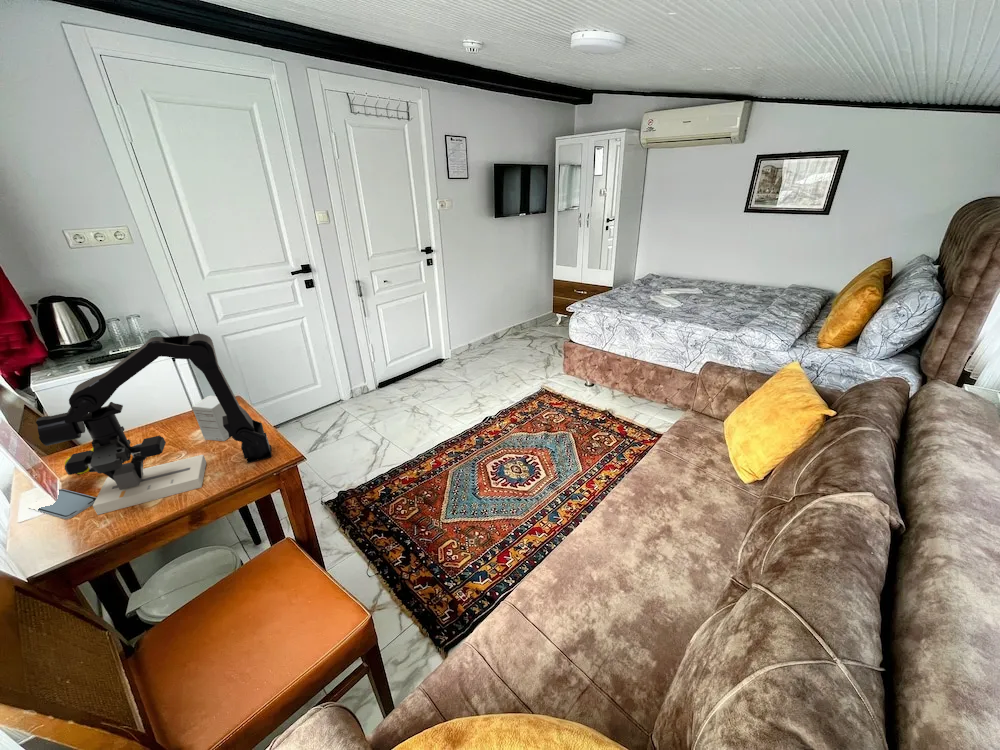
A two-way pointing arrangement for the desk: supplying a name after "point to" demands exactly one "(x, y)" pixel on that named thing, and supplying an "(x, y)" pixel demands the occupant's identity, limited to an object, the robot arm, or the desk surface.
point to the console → (153, 484)
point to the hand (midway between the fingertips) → (130, 479)
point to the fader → (126, 476)
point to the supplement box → (211, 419)
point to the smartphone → (68, 504)
